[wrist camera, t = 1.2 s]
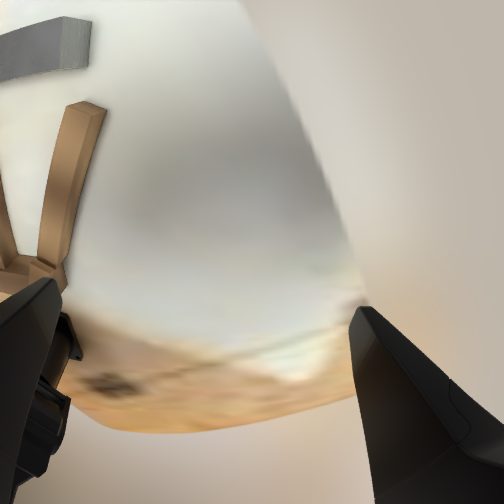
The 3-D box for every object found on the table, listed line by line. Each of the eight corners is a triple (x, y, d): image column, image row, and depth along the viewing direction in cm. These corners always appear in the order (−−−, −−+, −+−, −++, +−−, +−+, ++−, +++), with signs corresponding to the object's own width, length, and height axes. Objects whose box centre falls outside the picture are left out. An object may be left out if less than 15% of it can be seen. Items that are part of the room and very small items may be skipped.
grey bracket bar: (87, 66, 14) (59, 69, 11) (-32, 92, 13) (-61, 102, 11) (91, 21, 13) (63, 16, 10) (-31, 57, 12) (-60, 63, 9)
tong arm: (63, 283, 23) (44, 312, 20) (46, 274, 22) (26, 302, 19) (106, 110, 16) (77, 121, 13) (83, 100, 15) (51, 110, 12)
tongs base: (67, 284, 23) (55, 303, 21) (11, 274, 22) (-3, 291, 20) (40, 95, 15) (18, 101, 13) (-22, 108, 14) (-44, 116, 12)
